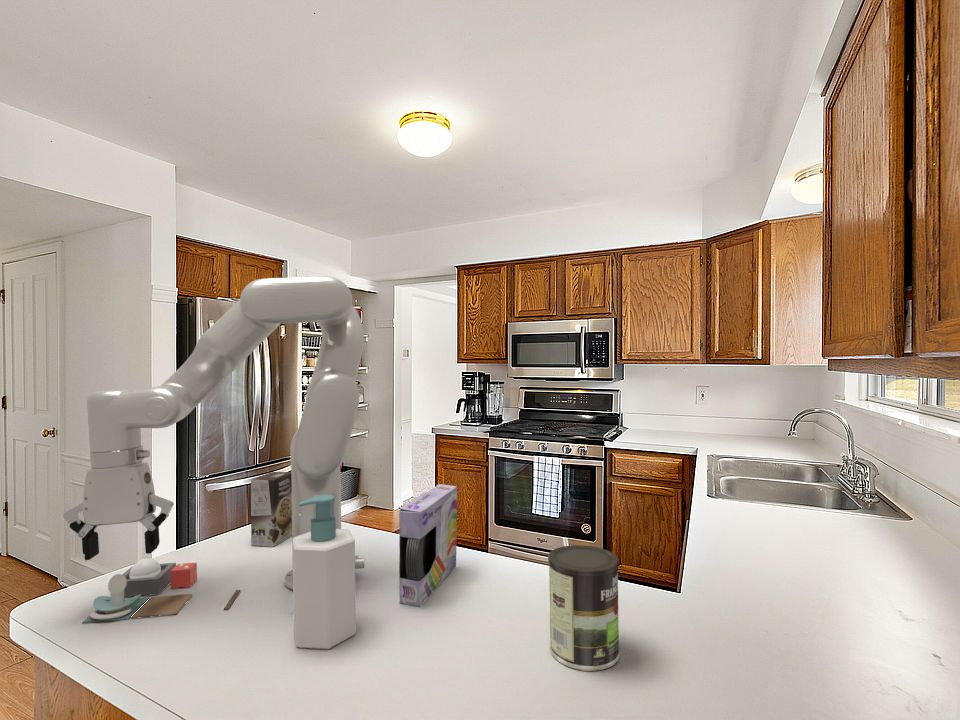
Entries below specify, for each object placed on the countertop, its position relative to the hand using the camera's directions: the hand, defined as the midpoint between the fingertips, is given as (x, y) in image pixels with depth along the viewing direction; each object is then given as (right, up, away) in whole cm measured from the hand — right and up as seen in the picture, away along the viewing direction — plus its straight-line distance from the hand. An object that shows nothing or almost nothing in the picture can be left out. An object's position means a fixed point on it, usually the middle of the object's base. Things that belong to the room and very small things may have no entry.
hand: (122, 554), depth 91 cm
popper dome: (-2, -10, +9) cm, 14 cm away
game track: (+7, -10, +1) cm, 12 cm away
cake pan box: (+54, -10, +8) cm, 56 cm away
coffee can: (+80, -9, -15) cm, 82 cm away
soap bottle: (+39, -10, -9) cm, 41 cm away
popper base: (+1, -10, +10) cm, 14 cm away
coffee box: (+13, -10, +35) cm, 39 cm away
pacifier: (0, -10, -2) cm, 10 cm away
